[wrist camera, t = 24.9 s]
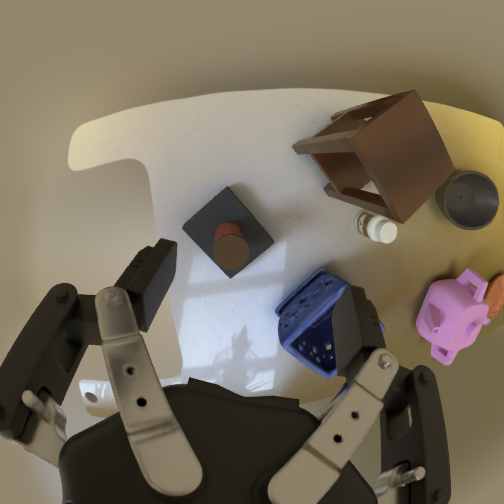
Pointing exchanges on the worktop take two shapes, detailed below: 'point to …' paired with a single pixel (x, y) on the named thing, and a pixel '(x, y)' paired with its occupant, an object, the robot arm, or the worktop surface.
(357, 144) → the stand
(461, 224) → the bowl
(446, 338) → the teapot
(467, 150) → the worktop surface
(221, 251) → the spice jar
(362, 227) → the pill bottle
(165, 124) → the worktop surface
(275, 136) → the worktop surface
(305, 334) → the flower pot
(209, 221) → the pad
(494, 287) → the saucer
